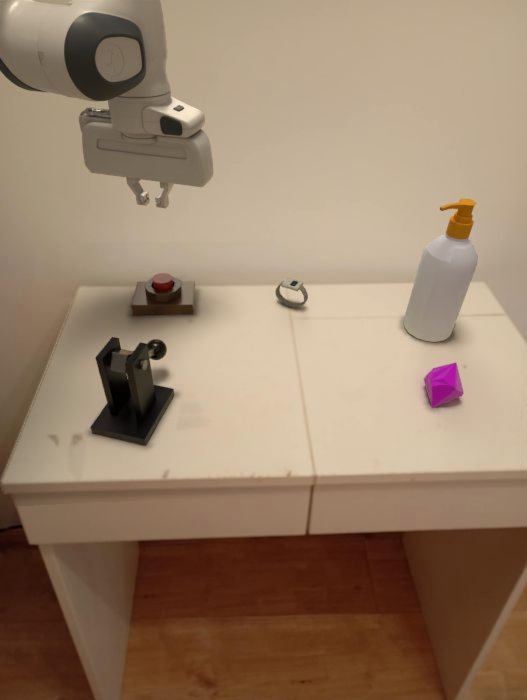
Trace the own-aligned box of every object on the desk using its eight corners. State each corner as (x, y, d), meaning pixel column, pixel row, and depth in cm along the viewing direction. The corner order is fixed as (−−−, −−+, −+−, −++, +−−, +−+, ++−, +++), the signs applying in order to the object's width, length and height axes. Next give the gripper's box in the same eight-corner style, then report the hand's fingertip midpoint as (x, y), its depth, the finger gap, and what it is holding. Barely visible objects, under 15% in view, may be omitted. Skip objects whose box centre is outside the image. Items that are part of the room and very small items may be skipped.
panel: (132, 315, 86) (129, 296, 83) (138, 291, 92) (135, 273, 89) (193, 314, 86) (192, 296, 84) (195, 290, 92) (194, 272, 90)
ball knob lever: (149, 356, 73) (151, 336, 72) (168, 360, 72) (171, 339, 72) (105, 372, 60) (108, 348, 60) (128, 377, 60) (131, 352, 59)
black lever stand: (125, 383, 72) (112, 322, 64) (174, 394, 71) (166, 332, 63) (91, 432, 65) (72, 369, 57) (145, 445, 63) (132, 382, 56)
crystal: (418, 383, 74) (425, 362, 71) (451, 383, 75) (460, 361, 72) (428, 408, 70) (437, 386, 67) (463, 407, 71) (473, 385, 68)
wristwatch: (272, 304, 90) (274, 282, 86) (278, 297, 91) (280, 275, 88) (302, 313, 88) (305, 291, 84) (308, 306, 89) (310, 283, 86)
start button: (152, 291, 85) (151, 283, 84) (154, 281, 88) (153, 272, 87) (172, 291, 85) (171, 283, 84) (173, 280, 88) (173, 272, 87)
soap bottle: (389, 321, 87) (422, 195, 71) (429, 309, 90) (468, 186, 74) (420, 349, 81) (462, 218, 65) (461, 335, 84) (511, 208, 69)
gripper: (64, 111, 67) (85, 204, 76) (200, 126, 64) (205, 221, 73) (87, 101, 72) (104, 190, 81) (215, 114, 68) (218, 205, 77)
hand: (153, 205), depth 77 cm, fingers closed
